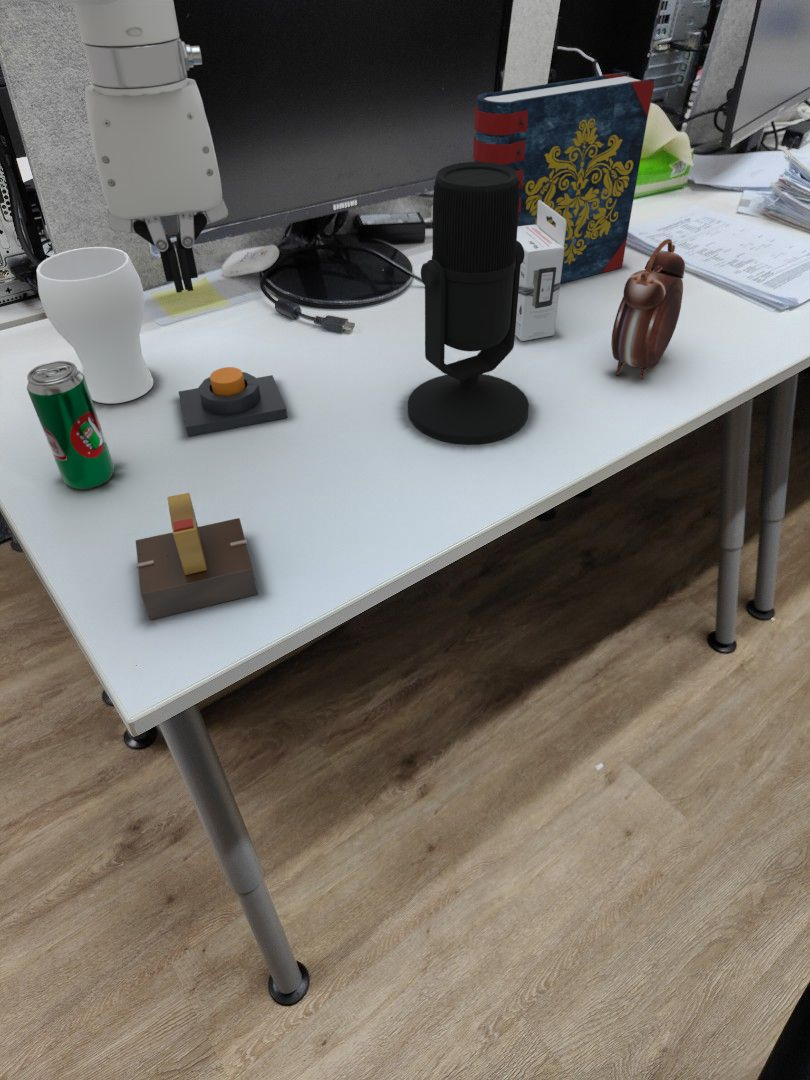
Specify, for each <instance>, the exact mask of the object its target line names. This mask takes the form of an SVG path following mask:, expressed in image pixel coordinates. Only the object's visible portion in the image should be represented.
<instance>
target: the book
mask: <svg viewBox="0 0 810 1080" xmlns="http://www.w3.org/2000/svg"><path fill="white" fill-rule="evenodd" d="M654 88H655V79H653V78H647V79H637V78H633V77H631V76H628V72H626V71H623V72H622V71H621V72H616V73H608V74H607V73H606V74H602V75H597V76H591V77H584V78H583V77H582V78H578V79H571V80H564V81H558V82H551V83H545V84H539V85H532V86H525V87H519V88H518V87H517V88H514V89H513V88H512V89H506V90H505V89H504V90H500V91H494V92H484V93H480V94H478V95H477V96H476V106H475V107H474V123H473V124H474V127H473V128H474V131H475V135H474V137H473V146H472V147H473V153H472V154H473V160H474V162H488V163H496V164H501V165H505V166H508V167H511V168H512V169H514V170H515V171H516V172H517V175H518V179H519V215H518V226H526V225H537V210H538V201H539V200H541V201H542V202H543V203H544V204H546V205H547V206H549V207H550V208H551V209H553V210H554V211H555V212H557V213H558V214H559V215H560V216H562V217H563V218H564V219H566V222H567V225H566V234H565V242H564V256H563V264H562V272H561V281H560V285H561V284H565V283H568V282H572V281H576V280H580V279H584V278H588V277H591V276H595V275H599V274H603V273H607V272H611V271H615V270H618V269H622V268H623V264H624V259H625V252H626V246H627V239H628V235H629V230H630V223H631V216H632V210H633V206H634V200H635V193H636V187H637V183H638V182H637V181H638V176H639V169H640V164H641V159H642V158H641V157H642V153H643V146H644V140H645V135H646V129H647V123H648V119H649V113H650V109H651V104H652V103H651V102H652V99H653V95H654ZM547 221H548V222H549V223H550V224H551V225H553V226H554V227H556V223H555V222H554V221H553V220H552V217H548V216H547Z"/></svg>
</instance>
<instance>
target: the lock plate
mask: <svg viewBox="0 0 810 1080" xmlns="http://www.w3.org/2000/svg"><path fill="white" fill-rule="evenodd" d="M198 528H199V532H200V537H201V542H202V547H203V552H204V557H205V562H206V567H207V570H206V571H201V572H197V573H193V574H188V575H185V574H184V570H183V567H182V563H181V560H180V556H179V553H178V550H177V546H176V543H175V539H174V536H173V531H172V532H167V533H162V534H157V535H153V536H149V537H145V538H141V539H140V538H139V539H136V540H135V549H136V558H137V559H136V560H137V563H135V567H136V569H138V579H139V588H140V589H139V590H140V596H141V600H142V603H143V605H144V608H145V611H146V613H147V616H148V619H149V621H151V620H156V619H160V618H164V617H168V616H172V615H176V614H180V613H185V612H189V611H194V610H198V609H202V608H207V607H209V606H215V605H219V604H223V603H227V602H231V601H235V600H240V599H244V598H249V597H252V596H255V595H258V594H259V591H258V586H257V581H256V577H255V572H254V568H253V563H252V560H251V556H250V552H249V550H248V549H249V548H248V545H247V544H248V539H246V537H245V533H244V529H243V525H242V522H241V519H240V517H238V518H232V519H229V520H223V521H219V522H214V523H209V524H205V525H199V526H198Z"/></svg>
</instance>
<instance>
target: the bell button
mask: <svg viewBox="0 0 810 1080" xmlns="http://www.w3.org/2000/svg"><path fill="white" fill-rule="evenodd" d="M243 372H244V371H242V370H241V369H240V368H237V367H231V366H227V367H221V368H218V369H216V370H213V371H212V372H211V374H209V375H210V376H209V377H210V380H211V385H212V390H213V392H214V394H216V395H223V396H229V395H234V394H238V393H239V392H241V391H243V390H244V389H245V383H244V377H243Z"/></svg>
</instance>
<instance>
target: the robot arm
mask: <svg viewBox="0 0 810 1080" xmlns="http://www.w3.org/2000/svg"><path fill="white" fill-rule="evenodd" d="M14 1H16V2H29V3H31V2H32V3H63V4H72V7H73V9H74V10H73V11H74V14H75V18H76V23H77V26H78V30H79V34H80V38H81V42H82V47H83V50H84V55H85V58H86V63H87V67H88V71H89V75H90V79H91V82H92V85H89V86H86V87H85V88H84V90H85V91H84V96H85V107H86V108H85V109H86V116H87V124H88V130H89V136H90V140H91V145H92V150H93V155H94V160H95V164H96V168H97V173H98V178H99V182H100V187H101V191H102V194H103V198H104V201H105V203H106V206H107V226H108V228H109V230H110V231H113V232H117V233H124V234H125V233H126V234H137V235H138V236H139V237H140V238H142V239H143V240H145V241H146V242H148V243H149V244H150V245H152V246H154V247H155V248H156V250H157V251H159V255H160V259H161V264H162V268H163V272H164V278H165V281H166V283H168V282H169V283H170V282H173V284H174V288H175V292H176V293H177V294H178V293H183V291H187V292H193V291H194V287H193V282H192V279H197V278H199V274H198V271H197V266H196V265H197V264H196V259H195V255H194V250H193V249H194V248H193V247H194V246H195V243H196V240H197V239H198V237H199V236H200V235H201V233H202V232H203V230H204V229H205V228H206V226H208V225H210V224H214V223H216V222H219V221H221V220H224V219H226V218H228V216H229V209H228V206H227V204H226V202H225V200H224V197H223V189H222V181H221V175H220V168H219V165H218V159H217V155H216V151H215V146H214V142H213V137H212V133H211V129H210V125H209V122H208V118H207V114H206V111H205V106H204V102H203V98H202V96H201V93H200V89H199V87H198V85H197V82H196V80H195V79H193V78H188V71H189V72H190V68H194V66H198V65H199V66H200V65H201V66H202V65H203V58H202V53H201V48H200V45H190V44H186V43H185V41H182V39H181V38H180V31H179V24H178V19H177V15H176V8H175V3H174V2H175V1H174V0H13V2H14ZM176 215H177V216H176ZM168 216H176V217H177V233H176V235H175V240H176V241H172V240H171V236H170V235H168V234H167V233H166V231H165V228H164V226H163V223H162V220H161V217H168ZM184 289H185V290H184Z"/></svg>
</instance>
